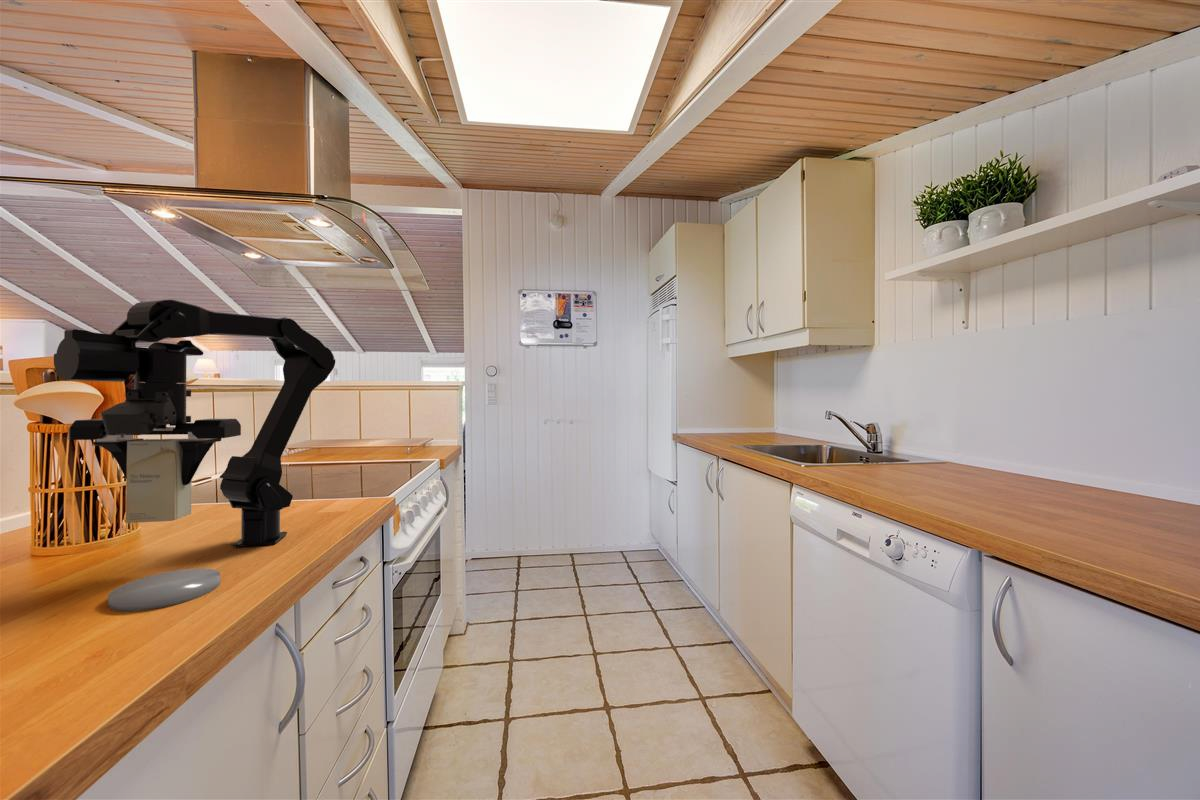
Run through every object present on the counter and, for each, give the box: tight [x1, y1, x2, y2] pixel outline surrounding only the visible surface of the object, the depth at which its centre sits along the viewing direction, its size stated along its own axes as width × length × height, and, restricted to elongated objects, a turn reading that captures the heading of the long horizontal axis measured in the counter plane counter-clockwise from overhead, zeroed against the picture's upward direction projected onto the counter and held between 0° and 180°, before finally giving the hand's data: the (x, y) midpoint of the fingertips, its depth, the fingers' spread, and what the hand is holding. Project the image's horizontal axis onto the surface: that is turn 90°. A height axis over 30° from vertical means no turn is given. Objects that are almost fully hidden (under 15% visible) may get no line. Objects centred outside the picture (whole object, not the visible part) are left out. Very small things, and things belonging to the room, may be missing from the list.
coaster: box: [107, 567, 221, 612], centre depth 62 cm, size 11×11×1 cm
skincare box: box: [125, 438, 193, 524], centre depth 69 cm, size 6×4×12 cm
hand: (160, 485), depth 69 cm, fingers closed on skincare box, 6 cm apart
